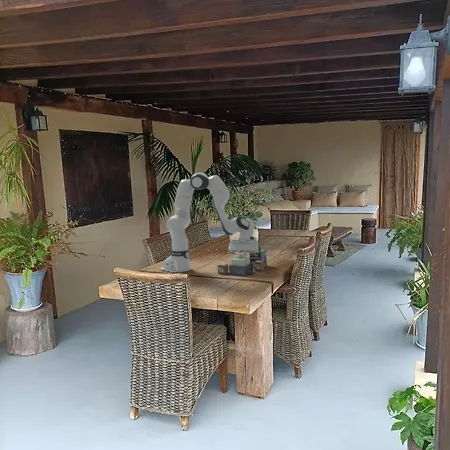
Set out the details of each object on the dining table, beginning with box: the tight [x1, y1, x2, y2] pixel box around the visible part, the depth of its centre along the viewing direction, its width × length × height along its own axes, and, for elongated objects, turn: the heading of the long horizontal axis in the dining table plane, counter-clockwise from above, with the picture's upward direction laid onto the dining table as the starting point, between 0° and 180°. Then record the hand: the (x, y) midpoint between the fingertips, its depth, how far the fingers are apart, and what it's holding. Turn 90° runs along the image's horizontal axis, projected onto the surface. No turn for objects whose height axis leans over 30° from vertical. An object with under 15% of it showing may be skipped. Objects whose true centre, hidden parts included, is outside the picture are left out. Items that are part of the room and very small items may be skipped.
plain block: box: [231, 256, 250, 266], centre depth 292 cm, size 9×9×8 cm
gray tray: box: [228, 263, 254, 277], centre depth 292 cm, size 12×12×6 cm
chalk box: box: [249, 245, 268, 269], centre depth 307 cm, size 9×9×15 cm
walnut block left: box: [217, 263, 229, 275], centre depth 293 cm, size 5×5×6 cm
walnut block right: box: [253, 261, 265, 272], centre depth 297 cm, size 5×5×6 cm
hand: (241, 257), depth 291 cm, fingers closed, pressing on plain block
